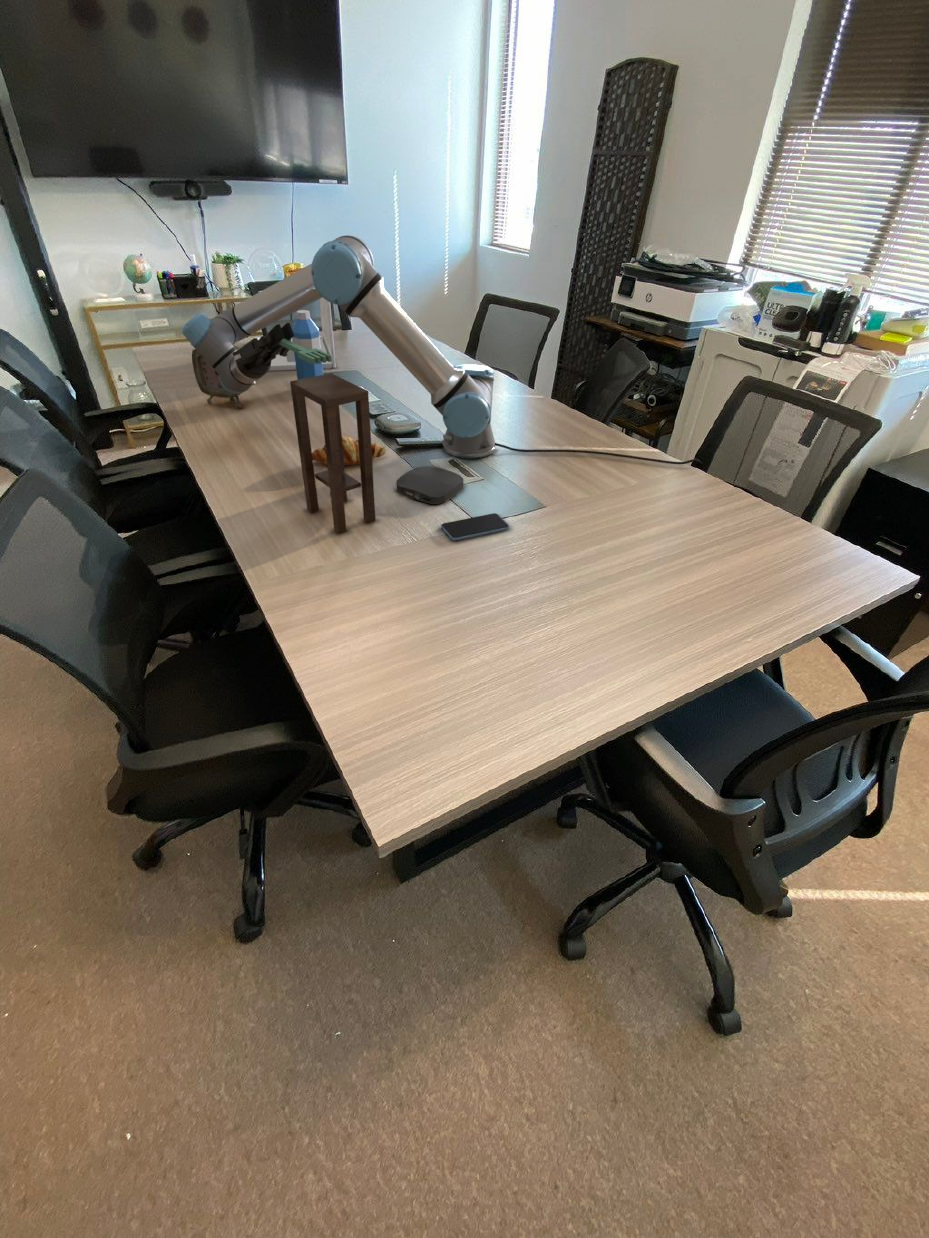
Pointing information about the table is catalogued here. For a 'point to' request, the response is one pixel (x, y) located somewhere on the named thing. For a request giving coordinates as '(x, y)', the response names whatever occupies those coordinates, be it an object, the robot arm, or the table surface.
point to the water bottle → (306, 344)
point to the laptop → (327, 332)
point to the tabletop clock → (210, 379)
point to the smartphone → (474, 526)
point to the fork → (306, 352)
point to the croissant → (348, 452)
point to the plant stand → (334, 443)
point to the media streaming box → (430, 484)
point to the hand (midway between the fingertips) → (285, 330)
